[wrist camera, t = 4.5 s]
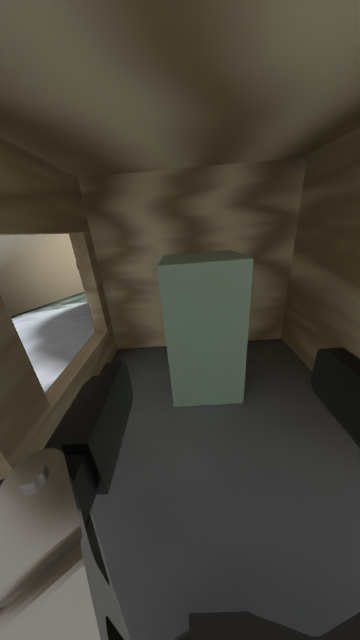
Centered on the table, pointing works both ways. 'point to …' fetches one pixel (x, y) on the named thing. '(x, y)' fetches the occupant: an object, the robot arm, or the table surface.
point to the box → (179, 170)
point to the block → (206, 325)
